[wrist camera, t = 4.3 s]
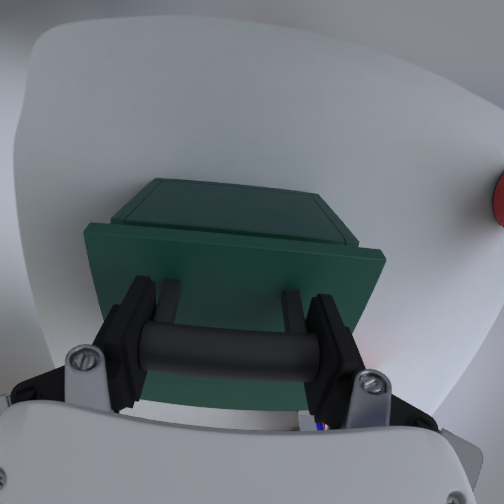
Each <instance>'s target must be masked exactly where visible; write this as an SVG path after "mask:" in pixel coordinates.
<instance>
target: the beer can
mask: <svg viewBox="0 0 504 504" xmlns="http://www.w3.org/2000/svg"><path fill="white" fill-rule="evenodd" d="M493 209H494V213H495V217H496V219H497V221H498V223H499V224H500V225H502V226H503V227H504V174H503V175H502V177H501V178H500V180H499V181H498V184H497V186H496V189H495V193H494V198H493Z"/></svg>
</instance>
